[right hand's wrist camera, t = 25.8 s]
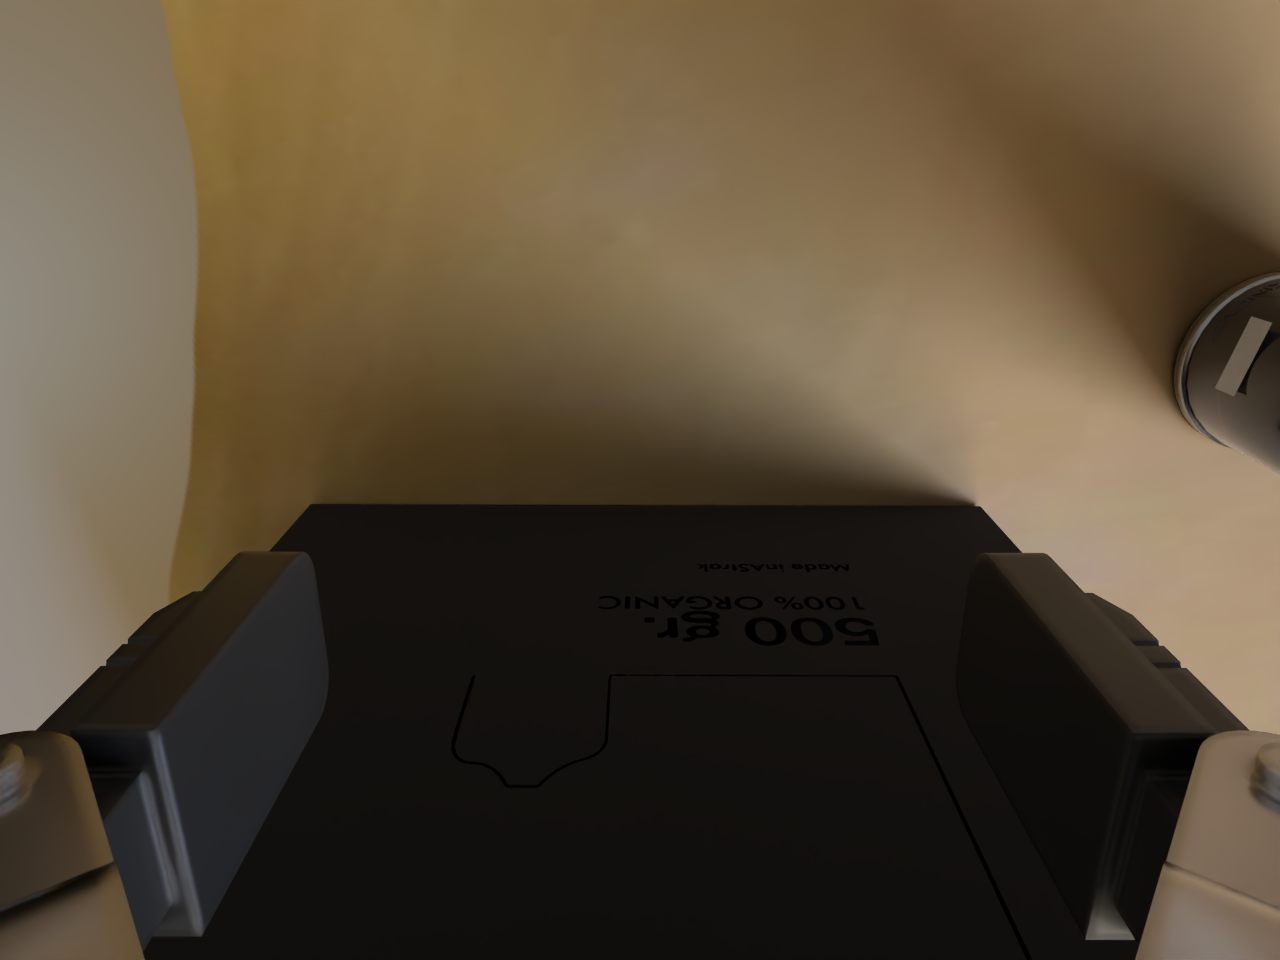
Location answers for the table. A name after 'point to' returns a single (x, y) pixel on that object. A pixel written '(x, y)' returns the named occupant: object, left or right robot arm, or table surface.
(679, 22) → the table surface
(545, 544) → the cardboard box
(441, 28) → the table surface
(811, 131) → the table surface
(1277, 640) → the table surface
